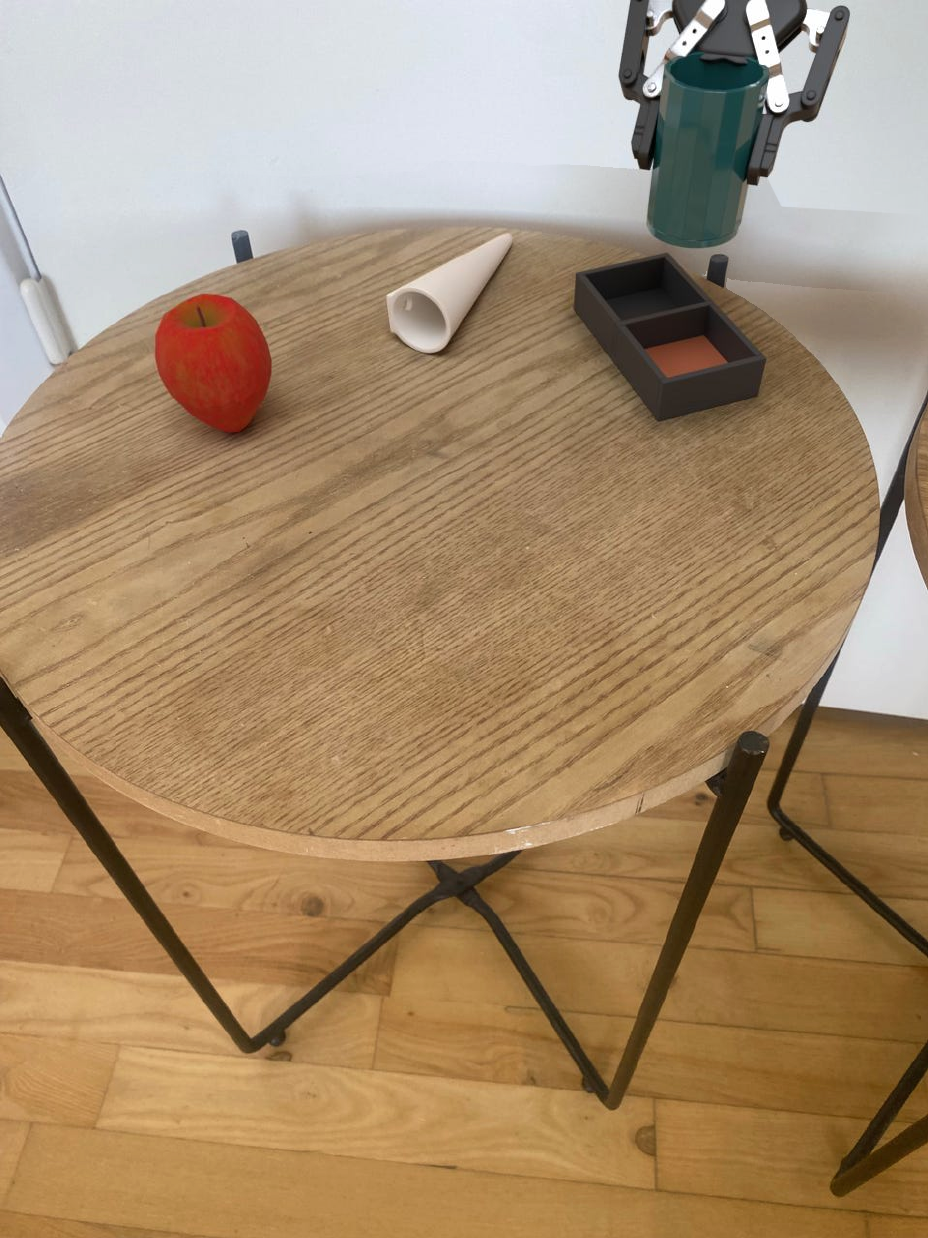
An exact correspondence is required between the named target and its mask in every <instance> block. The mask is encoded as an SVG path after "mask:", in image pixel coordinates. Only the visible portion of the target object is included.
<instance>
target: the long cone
mask: <svg viewBox="0 0 928 1238" xmlns="http://www.w3.org/2000/svg"><path fill="white" fill-rule="evenodd" d="M513 241H514V237H513V235H512V234H511V233H508V232H507V233H503V234H500V235H498V236H496V237H494V238H492V239H490V240H489V241H486V242H485V243H483V244H481V245H479V246H477V247H475V248H474V249H472V250H470V251H468V252H466V253H464V254H462V255H458V256H457V257H455V258H454V259H451V260H449V261H447V262H446V263H444V264H442V265H440V266H438V267H436V268H434V269H432V270H431V271H428V272H427V273H424V274H423V275H421V276H420V277H419V276H418V277H417V278H416V279H414V280H411V281H410V282H407V284H404V285H403V286H401V287H399V288H397V289H395V290H393V291H391V292H390V293H388V294H386V305H387V315H388V323H389V330H390V332H391V334H395V335H397V336H398V338H399V339H400V340H401V341H402V342H403V343H404V344H405V345H407V347H410V348H411V349H412V350H415V351H417V352H419V353H423V354H435V353H438V352H440V351H442V350H443V349H445V347H446V346H447V345H448V344H449V342H450V340H451V339H452V337H453V336H454V334H455V333H456V331H457V330H458V328H459V327H460V325H461V324H462V322H463V320H464V318H465V317H466V316H467V314H468V312H469V311H470V310H471V308H472V307H473V305H474V303H475V302H476V300H478V298H479V296H480V294H481V293H482V292H483V290H484V288H485V287H486V286H487V283H488V282H489V280H490V279H491V278H492V277H493V275H494V273H495V272H496V270H497V269H498V267H499V265H500V264H501V263H502V261H503V259H504V258H505V257H506V254H507V253H508V252H509V250H510V248H511V246H512V244H513ZM405 303H406V307H405V308H404V305H405Z"/></svg>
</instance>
